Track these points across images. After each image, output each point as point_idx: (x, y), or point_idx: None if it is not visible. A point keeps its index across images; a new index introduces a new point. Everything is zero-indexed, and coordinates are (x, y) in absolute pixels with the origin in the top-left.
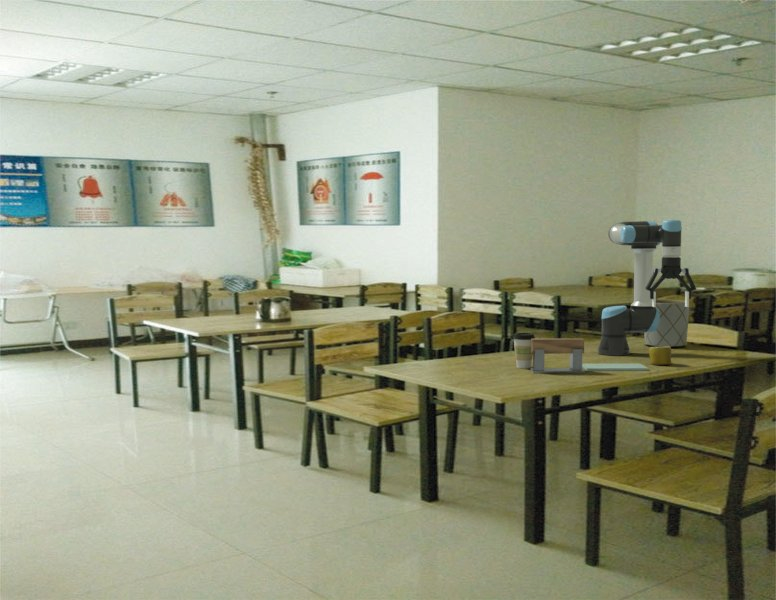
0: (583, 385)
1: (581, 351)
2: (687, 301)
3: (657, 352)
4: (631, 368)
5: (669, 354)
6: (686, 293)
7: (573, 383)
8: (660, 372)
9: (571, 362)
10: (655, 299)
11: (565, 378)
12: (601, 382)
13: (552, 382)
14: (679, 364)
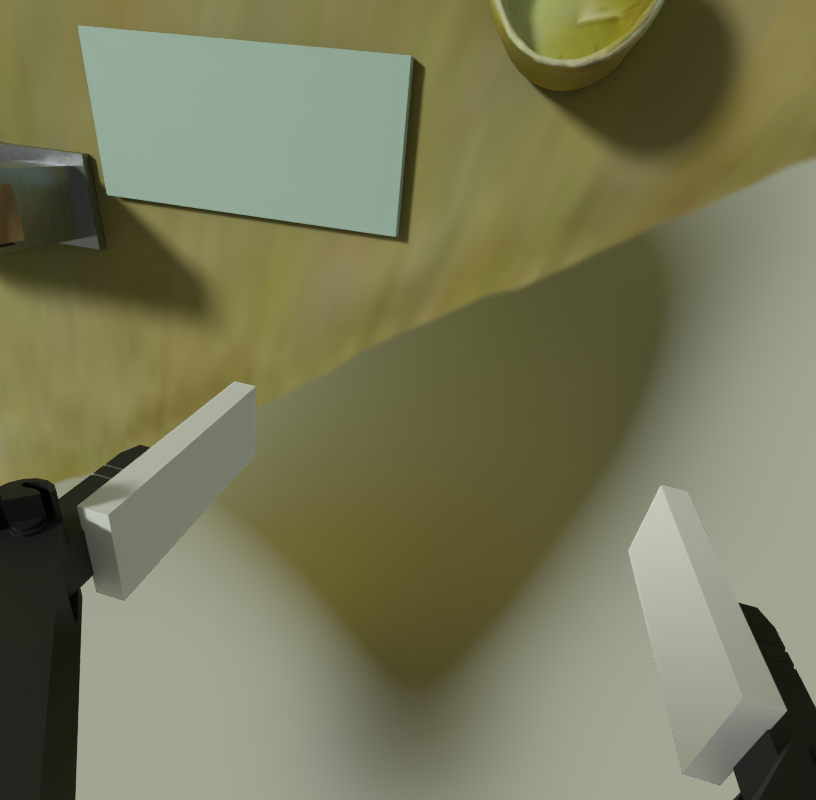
0: None
1: (1, 252)
2: (651, 611)
3: (517, 59)
4: (312, 224)
5: (612, 64)
6: (689, 708)
7: (72, 434)
8: (437, 297)
9: None
10: (200, 512)
11: (42, 350)
12: (156, 440)
13: (10, 405)
14: (707, 25)
